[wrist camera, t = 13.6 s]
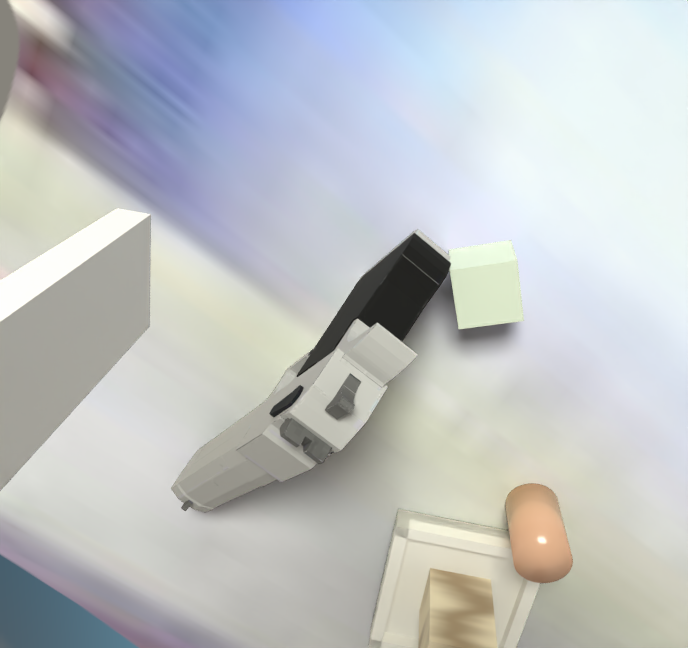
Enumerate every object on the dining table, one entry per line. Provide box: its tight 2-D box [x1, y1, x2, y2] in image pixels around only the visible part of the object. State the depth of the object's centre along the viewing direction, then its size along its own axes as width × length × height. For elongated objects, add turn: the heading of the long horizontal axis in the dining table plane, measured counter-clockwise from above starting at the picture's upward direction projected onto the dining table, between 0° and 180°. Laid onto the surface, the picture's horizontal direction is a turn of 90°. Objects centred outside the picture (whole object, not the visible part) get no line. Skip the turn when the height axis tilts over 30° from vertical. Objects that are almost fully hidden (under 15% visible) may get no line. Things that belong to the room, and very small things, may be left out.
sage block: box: [449, 240, 524, 329], centre depth 42 cm, size 4×4×4 cm
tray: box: [369, 509, 541, 648], centre depth 55 cm, size 12×14×2 cm
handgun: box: [171, 229, 451, 513], centre depth 45 cm, size 4×28×15 cm, turn 141°
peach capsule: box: [505, 484, 573, 583], centre depth 49 cm, size 4×4×6 cm
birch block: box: [418, 568, 497, 648], centre depth 52 cm, size 5×5×7 cm
